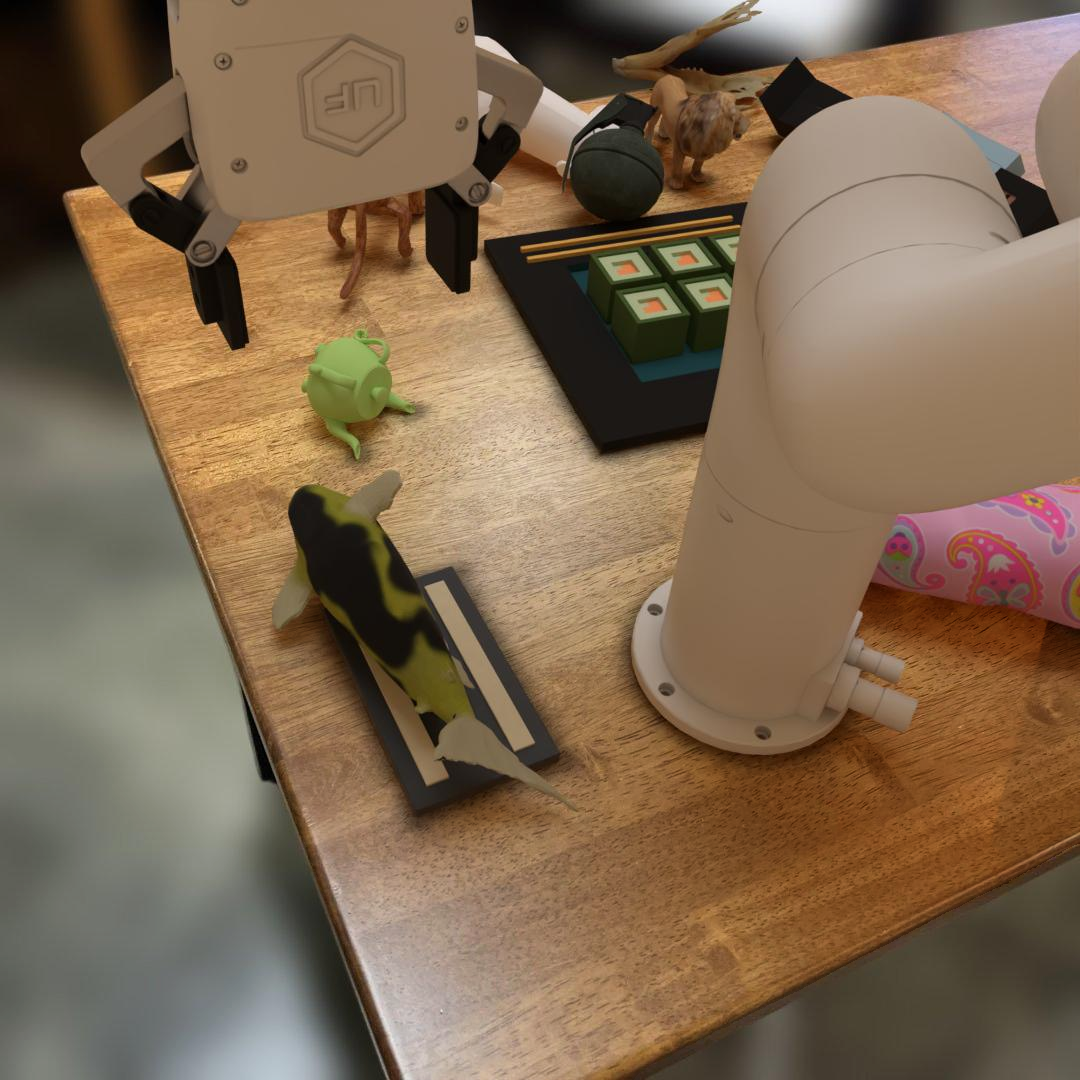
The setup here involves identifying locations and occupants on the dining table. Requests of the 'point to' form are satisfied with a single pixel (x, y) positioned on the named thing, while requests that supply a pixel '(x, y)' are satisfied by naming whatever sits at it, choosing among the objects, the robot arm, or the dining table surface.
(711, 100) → the lion figurine
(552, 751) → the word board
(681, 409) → the sushi
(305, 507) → the fish
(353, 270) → the cat figurine
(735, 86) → the jawbone
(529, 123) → the faucet
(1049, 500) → the pencil case
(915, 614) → the dining table surface
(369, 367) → the green kettle
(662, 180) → the grenade
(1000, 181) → the toy
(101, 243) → the dining table surface
